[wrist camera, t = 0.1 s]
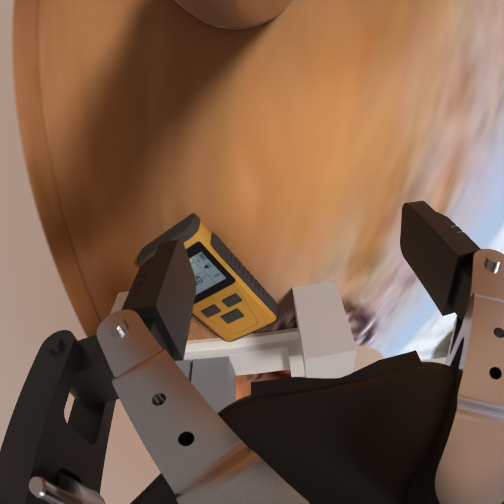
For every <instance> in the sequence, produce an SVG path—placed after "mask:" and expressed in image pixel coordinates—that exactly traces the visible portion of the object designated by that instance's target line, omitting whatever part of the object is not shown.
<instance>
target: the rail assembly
mask: <svg viewBox="0 0 504 504" xmlns="http://www.w3.org/2000/svg"><path fill="white" fill-rule="evenodd" d="M175 363H176V364H177V365H178V367H179V368H180V369H181V371H182V372H183V373H184V374H185V376H186V377H187V378H188V379H189V381H190V382H191V383H192V384H193V386H194V387H195V388H196V389H197V390H198V392H199V393H200V394H201V395H202V396H203V398H204V399H205V400H206V401H207V402H208V404H209V405H210V406H211V407H212V408H213V409H214V411H215V412H216V413H218V412H219V411H221V410H222V409H223V408H225V407H226V406H228V405H229V404H231V403H233V402H235V382H236V375H245V374H254V373H263V372H272V371H279V370H287V369H291V376H292V377H299V376H305V371H304V365H303V358H302V352H301V346H300V340H299V334H298V328H292V329H285V330H278V331H271V332H263V333H255V334H249V335H247V336H244V337H242V338H240V339H237V340H235V341H232V342H226V341H223V340H222V339H221V338H211V339H201V340H189V341H187V343H186V349H185V355H184V360H183V361H175Z"/></svg>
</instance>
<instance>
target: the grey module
mask: <svg viewBox="0 0 504 504" xmlns="http://www.w3.org/2000/svg"><path fill="white" fill-rule="evenodd" d="M292 290H293V299H294V308H295V316H296V322H297V328H298V334H299V340H300V346H301V352H302V358H303V365H304V371H305V378H335V377H339V376H345V375H349V374H351V373H353V370H354V364H355V358H356V352H357V349H356V346H355V342H354V339H353V336H352V332H351V329H350V326H349V323H348V320H347V316H346V313H345V310H344V307H343V304H342V301H341V298H340V295H339V292H338V289H337V286H336V283H335V281H330V282H324V283H318V284H311V285H305V286H299V287H292Z"/></svg>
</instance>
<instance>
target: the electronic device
mask: <svg viewBox="0 0 504 504" xmlns="http://www.w3.org/2000/svg"><path fill="white" fill-rule="evenodd" d="M177 239H181V240H182V241H183V243H184V246H185V249H186V252H187V254H188V257H189V260H190V263H191V266H192V269H193V272H194V275H195V279H196V295H195V300H194V305H193V310H192V315H193V316H194V317H196V318H197V319H198V320H199V321H200V322H201V323H203V324H204V325H205V326H206V327H207V328H209V329H210V330H211V331H212V332H213V333H215V334H216V335H217V336H218V337H219V338H221V339H222V340H223V341H226V342H232V341H235V340H237V339H240V338H242V337H244V336H247V335H249V334H251V333H253V332H256V331H258V330H260V329H262V328H265V327H267V326H269V325H271V324H273V323H275V322H276V321H277V320H278V317H279V311H278V306H277V304H276V302H275V300H274V299H273V298H272V297H271V296H270V295H269V294H268V293H267V292H266V290H265V289H264V288H263V287H262V286H261V284H259V283H258V282H257V280H256V279H255V278H254V277H253V276H252V275H251V274H250V272H249V271H248V270H247V269H246V268H245V267H244V266H243V265H242V263H241V262H240V261H239V260H238V259H237V258H236V257H235V256H234V255H233V253H232V252H231V251H230V250H229V249H228V248H227V247H226V246H225V245H224V243H223V242H222V241H221V240H220V239H219V238H218V237H217V236H216V235H215V234H214V233H211V231H210V230H209V229H208V228H207V227H206V226H205V225H204V224H203V222H202V221H201V220H200V219H199V218H198V217H197V215H196V214H191V215H190V216H188V217H187V218H185V219H184V220H182V221H181V222H179V223H178V224H176V225H175V226H174V227H172V228H171V229H169V230H168V231H166V232H165V233H164V234H162V235H161V236H159V237H158V238H156V239H155V240H154V241H152V242H151V243H149V244H148V245H147V246H145V247H144V248H143V249H142V251H141V252H140V255H139V257H138V259H137V263H138V264H139V265H140V266H142V265H143V264H144V263H145V262H146V261H147V260H148V259H149V258H153V257H154V255H155V253H156V250H157V248H158V246H159V244H160V243H161V242H166V241H171V240H177Z"/></svg>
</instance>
